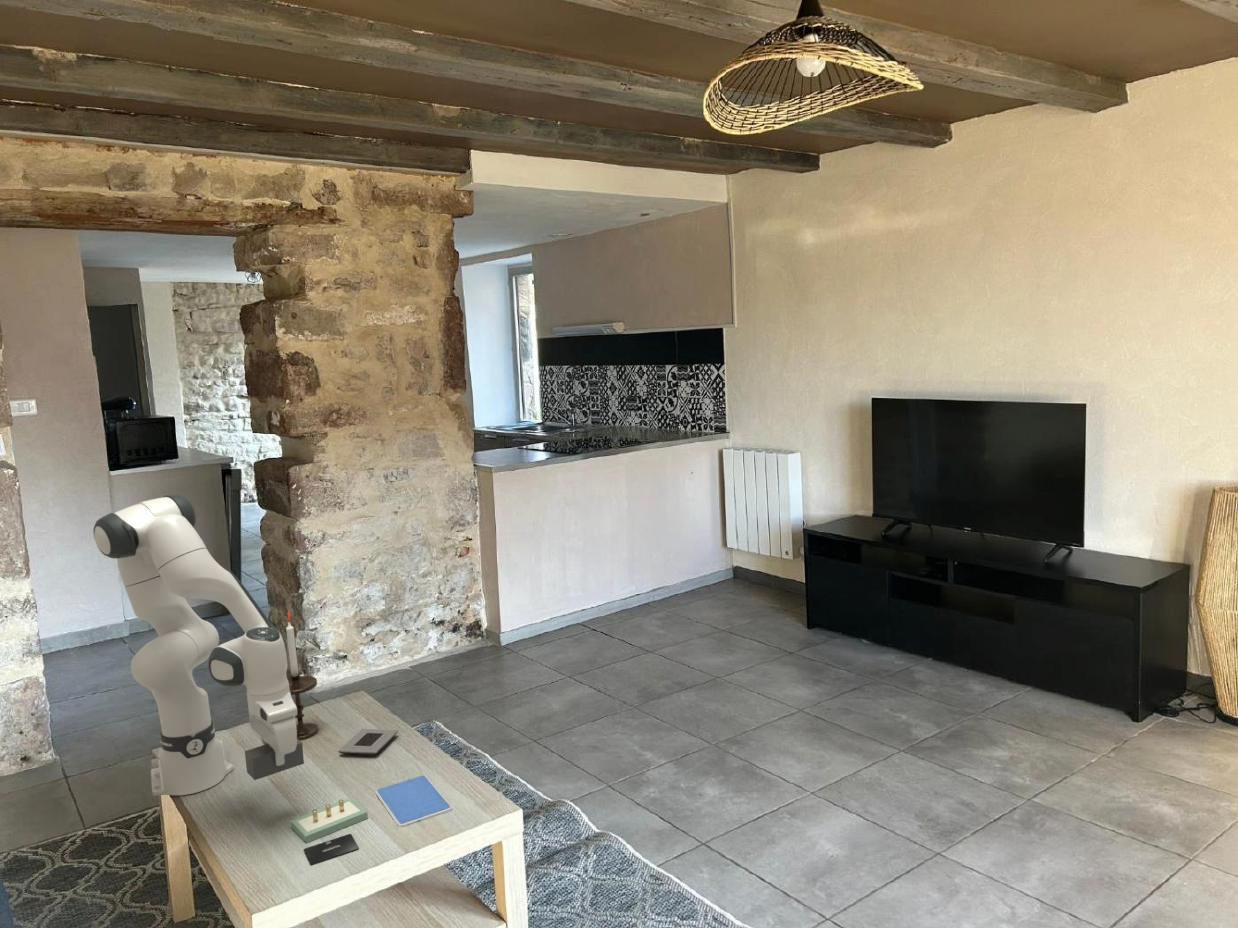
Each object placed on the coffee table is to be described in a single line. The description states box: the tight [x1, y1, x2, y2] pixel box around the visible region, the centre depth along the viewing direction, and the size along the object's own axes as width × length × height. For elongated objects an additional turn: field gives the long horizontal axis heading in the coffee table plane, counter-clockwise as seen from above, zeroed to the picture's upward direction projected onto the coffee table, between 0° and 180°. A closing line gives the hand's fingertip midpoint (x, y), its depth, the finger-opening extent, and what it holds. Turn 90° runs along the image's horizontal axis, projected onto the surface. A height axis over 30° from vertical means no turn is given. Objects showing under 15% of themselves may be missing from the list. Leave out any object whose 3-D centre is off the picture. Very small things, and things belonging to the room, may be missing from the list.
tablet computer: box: [375, 775, 453, 828], centre depth 207 cm, size 19×13×1 cm, turn 31°
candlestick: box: [285, 610, 320, 741], centre depth 245 cm, size 11×11×35 cm
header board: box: [290, 797, 369, 844], centre depth 200 cm, size 9×14×4 cm, turn 130°
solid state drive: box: [303, 833, 360, 866], centre depth 189 cm, size 7×10×1 cm
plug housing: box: [244, 739, 305, 781], centre depth 201 cm, size 5×11×5 cm, turn 130°
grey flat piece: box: [337, 728, 399, 756], centre depth 237 cm, size 13×10×2 cm
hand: (274, 759), depth 201 cm, fingers closed on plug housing, 5 cm apart
